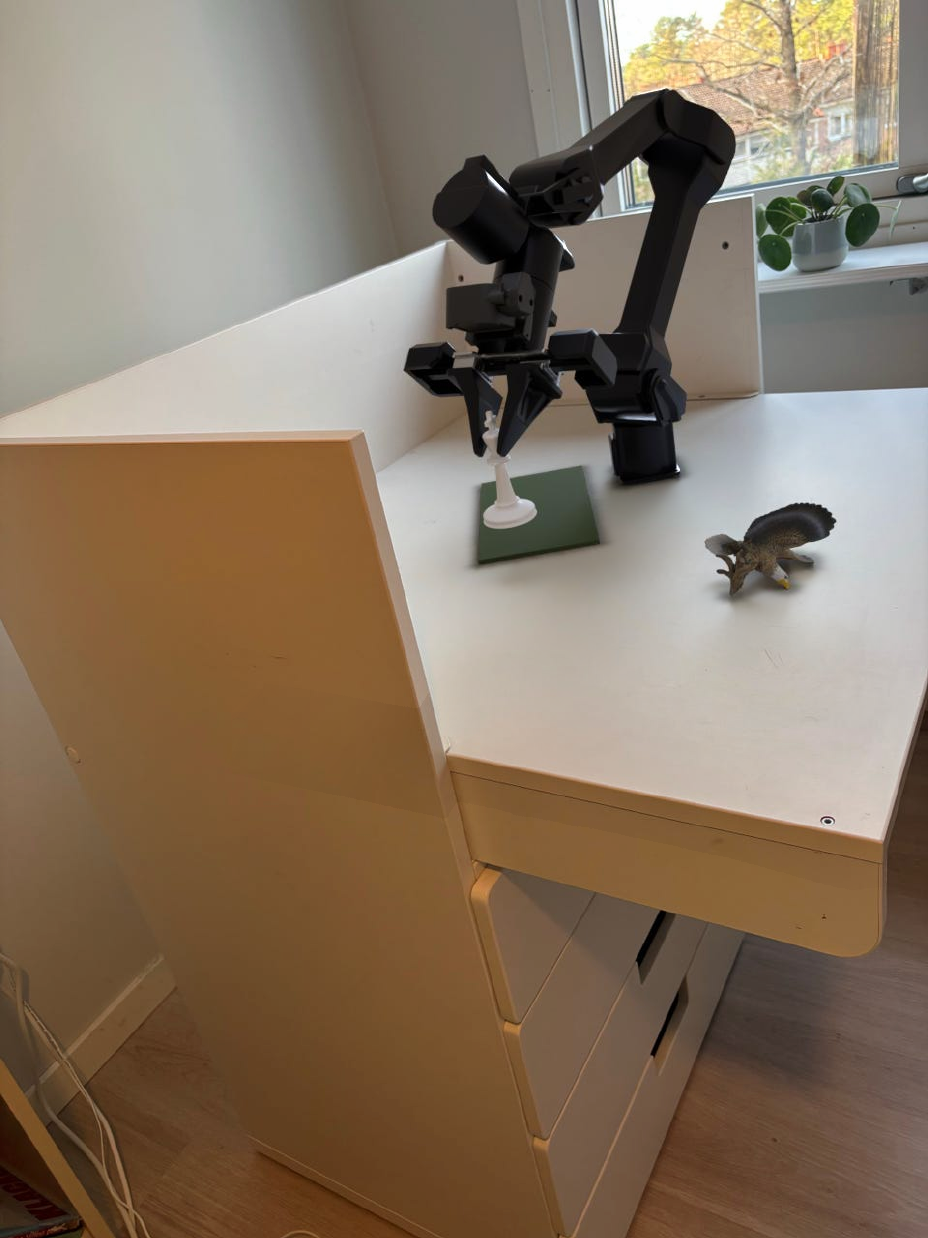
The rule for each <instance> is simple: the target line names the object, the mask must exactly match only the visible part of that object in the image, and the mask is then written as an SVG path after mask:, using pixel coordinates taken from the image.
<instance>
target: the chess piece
mask: <svg viewBox="0 0 928 1238" xmlns="http://www.w3.org/2000/svg"><path fill="white" fill-rule="evenodd" d="M486 417H487V420H486V421H485V422H484V424H485V427H489V430H488V431H487V432H485V433H484V434H483V435H482V438H483V440H484V442H485V443H486V445H487V449H488V450H489V452H490V454H491V455H490V456H489V457H488V458H487V459H486V464H487V465H489V466H494V474H495V481H496V488H497V500H496V501H495V502H494V505H492V506H490V507H489V508H488V509H487V510H486V511H485V512H484V514H483V517H484V524H485V525H486V526H487V527H490V528H495V529H505V528H512V527H516V526H519V525H522V524H525V523H527V522H529V521H530V520H532V519H533V518H534V517H535V516H536V514H537V510H536V509H535V505H534V503H533V502H531V501H529V500H526V499H520V498H519V497H518V496H516V495H515V493H514V490H513V488H512V485H511V482H510V479H509V478H510V476H509V473H508V470H507V466H506V463H508V462H509V461H510V460H511V458H512V457H511V456H510V454H509V453H508V454H507V456H506V457H501V456H499V455H498V454H497V452H496V450H497V440H498V433H499V429H500V428H497V427H496V423H497V421H498V416H496V415H493V413H492V411H487V412H486ZM494 422H495V423H494Z"/></svg>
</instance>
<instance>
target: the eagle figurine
mask: <svg viewBox="0 0 928 1238" xmlns="http://www.w3.org/2000/svg"><path fill="white" fill-rule="evenodd" d="M837 521H838V520H837V519H836V518H835V517H833V512H831V511H829V510H828V508H827V507H824V506H823V505H822V504H820V503H819V504H816V503H814V502H812V503H809V502H800V503H798V502H795V503H789V504H787V505H786V506H784V507H783V506H782V507H779V508H777V509H774V510H771V511H769V512H768V513H765V514H763V515H760V516H758V517H755V518H754V520H753V521H752V522H751V524H750V525H749V526H748V528H747V531H746V532H745V533H744V536H743V537H742V538H743V540H736V539H734V538H733V537H730V536H729V535H728V534H725V533H720V534H714V535H712V536H710V537H708V538H707V537H706V538H705V540H704V541H703V542H704V547H705V549H706V550H708V551H709V552H710V553H711V554H713V555H715V557H716V558H718V559H721V560H723V561H724V563H725V565H726V566H727V570H725V569H723V568H718V569H716V573H717V574H718V575H724V576H725V577H727V578H728V580H729V585H730V587H729V593H728V594H729V596H730V597H733V596H734V595H736V594H737V593H738V592H739V591H740V590H741V589H742V588H743V587H744V584H745V579H746V577H747V576H748V575H749V574H750V573H751V572H753V571H756V572H758V573H760V574H762V575H764V576H767V577H770V578H772V579H774V580H775V581H776V582H778V583H780V584H781V585H783V587H785V589H786V590H789V589H790V582H789V576H788V575H787V573H786V572H785V570H784V569H782V567H781V566H780V565H779V563H778V562H777V560H778V561H779V560H783V561H796V562H801V563H802V562H803V563H807V564H814V563H815V560H814V559H813V558H812V557H810V556H807V555H805V554H799V553H796V552H795V551H794V550H793V549H795V548H799V547H802V546H804V545H806V544H808V543H816V542H819V541H822V540H824V539H826V538H828V537H829V536H830V535H831V531H832V530H834V529H835V524H836V523H837ZM730 556H733V557H735V561H734V562H733V559H732V558H731V557H730Z"/></svg>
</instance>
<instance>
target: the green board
mask: <svg viewBox="0 0 928 1238" xmlns="http://www.w3.org/2000/svg"><path fill="white" fill-rule="evenodd" d="M509 479H510V482H511V485H512V488H513V490H514V493H515V495H516V496H518V497H519V498H520V499H526V500H529V501H531V502H533V503H534V505H535V509H536V510H537V514H536V516H535V517H534V518H533V519H532V520H530V521H529V522H527V523H525V524H522V525H519V526H516V527H512V528H505V529H495V528H490V527H487V526H486V525H485V524H484V517H483V514H484V512H485V511H486V510H487V509H488V508H489V507H490V506H492V505H494V502H495V501H496V500H497V488H496V480H493V481H489V482H483V483H481V487H480V488H481V489H480V491H481V492H480V511H479V533H478V534H479V535H478V557H477V559H478V564H479V565H481V564H482V565H483V564H487V563H488V564H489V563H494V562H499V561H505V560H511V559H516V558H517V559H518V558H523V557H528V556H534V555H540V554H546V553H553V552H558V551H565V550H570V549H575V548H580V547H581V548H582V547H588V546H593V545H599V544H601V541H600V537H599V531H598V528H597V524H596V519H595V515H594V512H593V507H592V504H591V499H590V495H589V490H588V487H587V483H586V479H585V475H584V470H583V466H582V465H577V466H570V467H566V468H564V467H563V468H559V469H555V470H554V469H553V470H548V471H542V472H537V473H532V474H527V475H522V476H515V477H509Z"/></svg>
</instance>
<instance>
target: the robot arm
mask: <svg viewBox="0 0 928 1238" xmlns="http://www.w3.org/2000/svg"><path fill="white" fill-rule="evenodd" d="M736 149H737V140H736V135H735V131H734V130H733V128H732V126H731V125H730V124H728V123H727V122H726V120H725V119H724V118H722V116H720V115H719V114H718V112H717V111H715V110H714V109H712V108H709V107H706V106H703V105H701V104H698V103H696V102H693V101H690V100H687V99H686V98H684V97H683V96H682V95H681V93H679V92H678V90H675V89H671V88H668V87H663V88H659V89H654V90H650V91H645V92H640V93H636V94H634V95H632V96H630V98H628V99H627V100H626V101H625V102H624V103H623V106H621V107H620V108H619V109H617V110H616V111H615V112H613V113H612V114H611V115H609V116H608V117H607V118H605V119H604V120H603V121H602V122H601V123H599V124H598V125H596V126H595V127H594V128H593V129H591V130H590V131H589V132H587V133H586V134H585V135H583V136H582V137H581V138H580V139H578V140H577V141H576V142H575V143H573V144H572V145H570V146H569V147H567V148H565V149H562V150H560V151H557V152H553V153H550V154H546V155H544V156H543V155H542V156H540V157H537V158H535V159H532V160H530V161H526V162H524V163H522V164H520V165H518V166H516V167H515V169H513V171H512V172H511V173H510V175H509V177H508V181H507V179H506V178H505V177H504V176H503V175H502V174H501V173H500V172H499V170H497V168H496V166H495V164H494V163H493V162H492V161H491V160H490V159H489V158H488V156H487V155H485V154H480V155H476V156H470V157H466V158H465V160H464V162H463V163H464V164H463V167H462V169H460V170H459V171H458V172H456V173H455V174H454V175H452V176H451V177H450V178H449V180H447V182H446V183H445V184H444V185H443V187H442V189H441V190H440V191H439V192H438V193H437V194H436V195H435V197H434V200H433V204H432V209H431V211H432V212H431V215H432V219H433V222H434V224H435V226H437V227H438V228H439V229H440V230H441V231H443V232H444V233H445V234H446V235H447V236H448V237H449V238H450V239H451V240H453V242H454V243H456V244H457V245H458V246H459V247H460V248H461V249H462V250H463V251H465V252H466V253H467V254H468V255H469V256H470V257H471V258H472V259H474V261H476V262H478V264H480V265H485V266H488V265H493V264H495V267H494V272H493V276H492V281H491V282H482V283H481V282H480V283H474V284H473V283H472V284H466V285H465V284H464V285H457V286H449V287H447V288H446V289H445V329H447V330H454V329H455V330H458V331H460V332H464V333H465V334H464V335H465V336H464V341H465V342H466V343H467V344H468V345H469V346H470V347H476V348H477V351H473V350H465V351H457V350H456V349H455V348H454V347H453V345H451V343H449V341H439V342H438V341H437V342H428V343H416V344H415V345H412V346H411V347H409V348H408V350H407V353H406V357H405V360H404V361H405V362H404V365H403V371H404V373H406V374H407V375H408V376H409V377H410V378H411V379H412V380H414V381H415V382H416V383H417V384H418V385H420V386H421V387H422V388H423V389H424V390H425V391H427V392H428V393H429V394H430V395H432V396H434V397H437V398H453V397H454V398H455V397H463V399H464V403H465V407H466V411H467V418H468V424H469V431H470V432H469V433H470V438H471V444H472V451H473V454H474V455H475V456H476V457H477V458H483V457H484V455H485V453H486V451H487V449H488V447H487V445H486V443H485V442H484V440H483V438H482V435H483V434H484V433H485V432H487V431H488V430H489V427H485V424H484V422H485V421H486V420H487V417H486V412H487V411H492V413H493V415H496V416H497V417H498V415H499V412H500V409H501V407H502V403H503V399H504V397H503V396H502V395H501V394H500V393H499V392H498V391H497V390H496V389H495V388H494V387H493V386H494V385H493V384H494V379H495V377H501V376H506V384H507V393H506V397H505V401H504V407H503V411H502V415H501V420H500V424H499V428H498V429H499V433H498V440H497V450H496V452H497V454H498V455H499V456H501V457H506V456H507V454H509V453H510V452H511V450H513V448H514V447H515V445H516V444H517V443H518V442H519V440H520V439H521V438H522V436H523V435H524V433H526V431H527V429H528V428H529V427H531V425H532V423H533V422H534V421H535V420H536V419H537V418H538V417H539V416H540V414H541V413H542V412H543V411H544V410H545V409H546V408H548V406H549V405H550V404H551V403H552V402H553V401H554V400H560V399H562V397H563V393H564V392H563V391H562V389H561V388H560V385H561V381H562V380H561V379H562V376H564V375H565V372H574V378H573V379H574V381H575V382H576V383H577V384H578V386H579V387H580V388H581V389H582V390H583V391H585V395H586V398H587V400H588V402H589V405H590V408H591V410H592V412H593V415H594V417H595V420H596V422H597V424H599V425H603V424H611V428H612V429H611V430H612V433H609V434H608V435H607V440H608V447H609V453H610V462H611V468H612V472H613V474H614V476H616V477H618V478H619V482H620V485H621V486H626V485H632V484H638V483H645V482H649V481H656V480H661V479H666V478H671V477H672V478H673V477H677V476H680V475H681V469H680V466H679V465H678V463H677V453H676V452H677V451H676V444H675V443H676V442H675V434H674V423H679V422H680V421H682V416H683V415H685V414H686V411H687V409H686V408H687V401H688V400H687V397H688V394H687V391H685V389H683V387H681V385H680V384H679V383H678V382H677V381H676V380H675V379H674V378H673V377H672V376H671V373H672V368H673V362H672V358H671V355H670V353H669V349H668V346H667V343H666V340H665V338H666V333H667V330H668V327H669V322H670V320H671V319H670V318H671V316H672V312H673V309H674V305H675V301H676V297H677V294H678V290H679V287H680V282H681V279H682V276H683V272H684V269H685V265H686V262H687V258H688V254H689V252H690V248H691V244H692V240H693V237H694V232H695V229H696V226H697V223H698V218H699V215H700V212H701V210H702V209H703V208H704V207H705V206H706V205H707V204H708V202H709V201H711V200H712V198H713V197H714V196H715V195H716V194H717V193H718V192H719V191H720V190H721V189H722V187H723V185H724V182H725V180H726V177H727V175H728V172H729V170H730V167H731V165H732V162H733V159H734V158H735V154H736ZM636 158H638V159H639V160H640V161H641V162H642V163H644V165H646V166H647V177H648V180H649V183H650V186H651V190H652V192H653V193H652V194H653V196H654V198H653V203H652V207H651V210H650V215H649V217H648V220H647V225H646V229H645V232H644V235H643V239H642V242H641V247H640V249H639V252H638V253H639V254H638V257H637V261H636V264H635V267H634V271H633V275H632V279H631V282H630V285H629V287H628V292H627V296H626V300H625V303H624V307H623V310H622V312H621V313H622V314H621V317H620V321H619V323H618V325H617V327H616V328H615V329H614V330H613V331H612V332H611V333H610V332H609V333H598V332H597V331H596V330H595V329H594V328H592V327H591V328H582V329H580V328H579V329H570V330H559V331H555V332H553V333H552V334H550V335H549V339H548V343H547V347H546V348H545V345H546V339H547V334H548V329H549V328H556V327H557V321H558V315H557V314H556V313H555V312H554V310H553V303H554V299H555V298H554V297H555V295H556V288H557V283H558V278H559V274H560V273H562V272H566V271H570V270H573V269H575V267H576V262H575V259H574V256H573V255H572V253H571V252H570V251H569V250H568V248H567V246H566V241H565V240H564V239H560V238H558V236H557V235H556V234H555V233H554V232H553V231H552V229H561V228H568V227H577V226H581V225H583V224H585V223H586V222H587V221H588V220H589V219H590V218H591V216H592V215H593V214H594V213H595V211H596V210H597V209H598V208H599V206H600V204H602V202H603V200H604V198H605V186H606V185H607V184H608V183H609V181H611V180H612V179H613V178H615V176H616V175H618V174H619V173H620V172H621V171H623V170H624V169H625V168H626V167H627V166H628V165H630V164H631V163H632V162H633V161H635V160H637V159H636ZM494 423H495V424H496V422H494Z"/></svg>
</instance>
